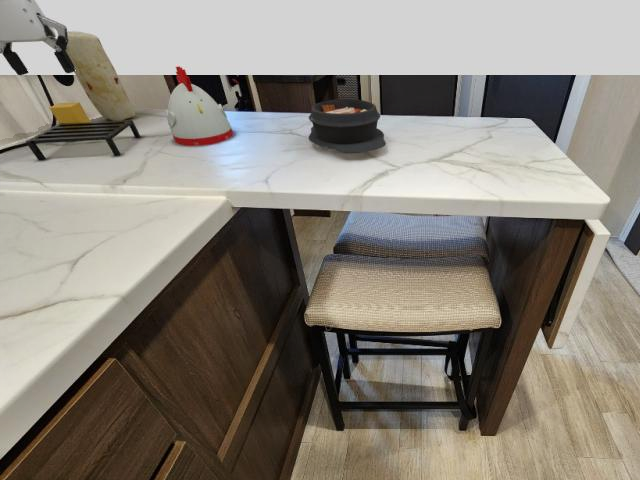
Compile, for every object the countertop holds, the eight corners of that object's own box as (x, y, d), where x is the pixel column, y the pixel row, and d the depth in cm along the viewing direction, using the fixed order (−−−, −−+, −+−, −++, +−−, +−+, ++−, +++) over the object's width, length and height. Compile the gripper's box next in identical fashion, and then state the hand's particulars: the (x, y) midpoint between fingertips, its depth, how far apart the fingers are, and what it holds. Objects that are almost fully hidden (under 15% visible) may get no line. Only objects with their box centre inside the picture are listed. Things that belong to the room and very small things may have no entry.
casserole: (296, 135, 87) (289, 99, 81) (360, 125, 94) (357, 91, 88) (330, 167, 71) (325, 124, 65) (404, 152, 78) (405, 113, 72)
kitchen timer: (183, 149, 78) (152, 74, 68) (168, 135, 86) (137, 66, 75) (241, 138, 85) (220, 67, 75) (222, 126, 92) (200, 60, 82)
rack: (38, 160, 72) (24, 141, 70) (70, 140, 82) (59, 123, 80) (119, 155, 75) (108, 137, 72) (141, 136, 85) (132, 119, 82)
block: (68, 138, 83) (49, 107, 79) (77, 133, 87) (59, 103, 82) (88, 137, 84) (70, 106, 79) (96, 132, 87) (79, 102, 83)
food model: (141, 115, 100) (101, 30, 86) (133, 121, 95) (89, 32, 81) (105, 116, 98) (58, 30, 85) (95, 123, 93) (44, 32, 80)
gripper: (43, -31, 69) (96, 68, 80) (-55, -31, 66) (15, 72, 78) (21, -32, 63) (81, 74, 75) (-86, -33, 61) (-7, 78, 72)
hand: (47, 73), depth 76 cm, fingers open, 9 cm apart
